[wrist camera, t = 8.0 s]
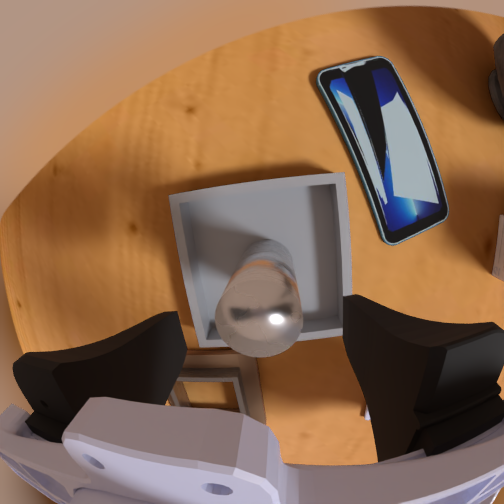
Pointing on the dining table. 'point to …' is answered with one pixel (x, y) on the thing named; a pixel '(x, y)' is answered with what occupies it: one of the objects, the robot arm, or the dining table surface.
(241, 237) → the tray
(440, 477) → the robot arm
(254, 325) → the metal peg
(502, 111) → the pitcher
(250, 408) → the collar stand
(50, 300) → the dining table surface
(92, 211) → the dining table surface
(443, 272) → the dining table surface
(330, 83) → the smartphone
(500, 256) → the light bulb box
